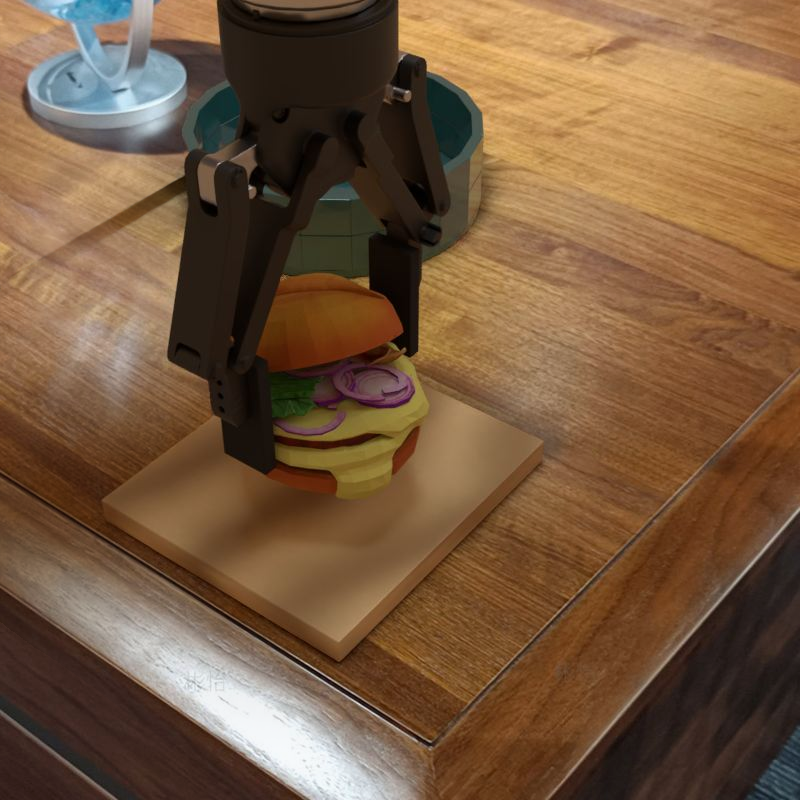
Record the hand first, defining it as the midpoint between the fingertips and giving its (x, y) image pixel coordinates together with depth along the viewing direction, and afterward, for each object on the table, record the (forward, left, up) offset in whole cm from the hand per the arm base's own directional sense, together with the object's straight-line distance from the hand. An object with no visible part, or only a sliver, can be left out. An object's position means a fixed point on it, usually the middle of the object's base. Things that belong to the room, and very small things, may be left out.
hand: (325, 400), depth 69 cm
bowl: (-19, +24, -6) cm, 31 cm away
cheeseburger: (0, 0, -2) cm, 2 cm away
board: (0, 0, -6) cm, 6 cm away
